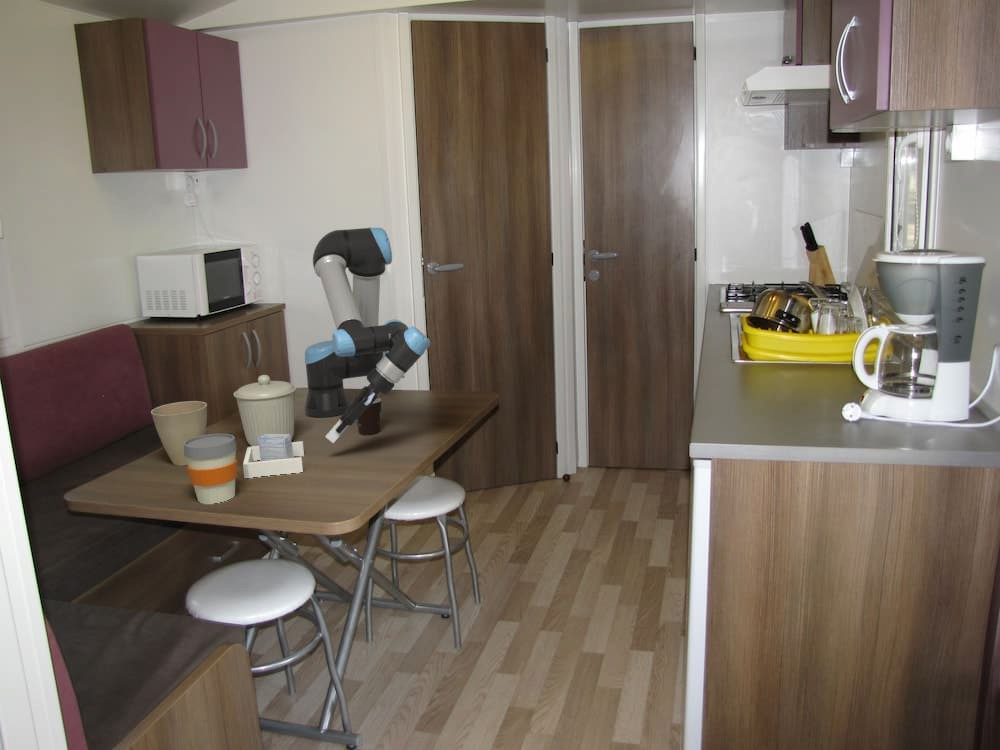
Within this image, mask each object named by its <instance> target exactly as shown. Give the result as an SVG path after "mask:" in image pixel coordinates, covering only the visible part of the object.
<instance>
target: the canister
mask: <svg viewBox="0 0 1000 750" xmlns="http://www.w3.org/2000/svg"><path fill="white" fill-rule="evenodd" d="M257 381H258V382H252V383H249V384H245V385H243V386H240V387H239V388H238V389H237V390H236V391H234V392H233V397H234V398H236V401H237V402H236V403H237V407H238V412H239V415H240V419H241V420H240V421H241V423H242V427H243V432H244V436H245V438H246V439H245V440H246V442H247V443H248V444H249V445H250V447H251V446H259V442H258V439H259V438H260V437H261V436H263V435H265V434H290V435H291V441H292V440H293V437H294V434H295V400H296V398H295V397H296V396H295V395H296V393H295V392H296V391H297V386H296V385H295V384H293V383H290V382H287V381H282V380H271V377H270V376H269V375H267V374H262V375H259V376H258V378H257Z"/></svg>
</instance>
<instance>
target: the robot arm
mask: <svg viewBox="0 0 1000 750" xmlns="http://www.w3.org/2000/svg"><path fill="white" fill-rule="evenodd" d="M391 247H392V246H391V242H390V238H389V236H388V234H387V232H386V230H385V229H384V228H382V227H372V226H370V227H365V228H362V227H361V228H349V229H348V228H347V229H336V230H332V231H330V232H328V233H326V234H325V235H324V236H322V238H320V240H319V241H318V243H317V244H316V246H315V248H314V250H313V251H314V252H313V255H312V264H313V265H312V266H313V269H314V274H315V275H316V276H317V277H319V278H320V280H321V285H322V287H323V290H324V293H325V296H326V299H327V303H328V306H329V309H330V312H331V315H332V319H333V323H334V325H335V329H336V330H333V332H332V336H331V337H332V338H331V340H325V341H320V342H317V343H314V344H311V345H309V346H308V347H306V349H305V351H304V364H305V370H306V380H307V389H308V390H307V395H306V399H305V404H304V414H305V416H308V417H312V418H330V417H336V415H337V416H340V417H339V420H338V421H337V422H336V423H335V424H334V426H333V427H332V428H331V429H330V431H328V432H327V434H326V435H325V438H326V439H327V440H328V441H329V442H331V443H332V444H334V443H335V442H336V441H337V440H338V438H340V436H341V435H342V434H343V433H344V432H345V430H346V429H347V428H348V427H351V426H352V425H353V424H354V423H355V422H357V419H358V418H359V417H360V416H361V415H362V414H363V413H364V412H365V411H366V410H367V409H368V408H369V407H370V406H371V405H372V404H373V402H374V401H375V400H376V398H378V397H377V396H378V395H379V393H382V394H384V395H389V393H390V392H391V391H392V390H393V388H394V387H395V384H398V382H400V381H401V379H404V378H405V374H406V373H408V371H409V370H411V368H412V367H413V366H414V365H415V363H416V362H418V360H419V359H420V358H421V357H422V356H423V355H424V354H425V352H426V351H427V349H428V348H429V347H430V345H431V340H430V339H429V338H428V337H427V336H426V335H425V334H424V333H423V332H421V330H419V329H418V328H417V327H416V326H414V325H413V326H410V327H408V325H407V324H405V323H404V322H403V321H401V320H399V319H395V318H394V319H389V320H387V321H386V322H384V324H382V325H379V320H380V319H379V315H380V314H379V313H380V291H381V290H380V288H381V285H380V284H381V276H382V275H384V273H385V272H386V265H387V266H389V265H391V264H392V261H393V252H392V248H391ZM346 269H348V271H349V273H350V274H351V275H352V287H351V284H350V281H349V278H348V275H347V273H346ZM360 377H361V378H362V377H366V380H367V381H368V383H369V384H368V385H366V386H364V387H362V388H361V391H359V393H358V395H357V396H355V398H354V399H353V400H352V402H350V399H349V398H348V395H347V393H346V390H345V387H344V379H345V380H346V379H352V378H353V379H354V378H360Z"/></svg>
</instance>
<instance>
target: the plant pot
mask: <svg viewBox="0 0 1000 750" xmlns="http://www.w3.org/2000/svg"><path fill="white" fill-rule="evenodd" d="M150 414H151V416H152V420H153V421H152V422H154V423H153V424H154V427H155V429H156V431H157V435H158V437H159V439H160V442H161V443H162V446H163V448H164V450H165V452H166V453H167V456H168V457H169V459H170V460H171V462H172V464H173V465H174V466H178V467H179V466H180V467H181V466H182V467H184V466H187V464H188V463H187V459H186V457H185V456H184V443H185V441H187V440H189V439H191V438H194V437H197V436H202V435H206V431H207V424H208V423H207V420H208V419H207V418H208V417H207V415H208V404H207V403H206V401H205V402H204V401H199V400H190V401H179V402H178V401H177V402H173V403H172V402H171V403H167V404H163V405H160V406H157V407H155V408H153V409H152V410H151V411H150Z"/></svg>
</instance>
